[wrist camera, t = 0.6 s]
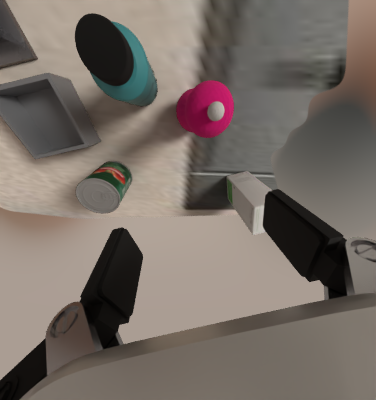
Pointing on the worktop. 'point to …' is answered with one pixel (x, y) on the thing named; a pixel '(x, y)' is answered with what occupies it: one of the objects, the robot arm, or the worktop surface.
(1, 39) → the silver rounded piece
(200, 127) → the pepper mill
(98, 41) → the beverage bottle
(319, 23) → the worktop surface
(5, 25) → the stud plate
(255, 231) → the skincare box
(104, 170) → the canned tomato
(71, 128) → the bin
